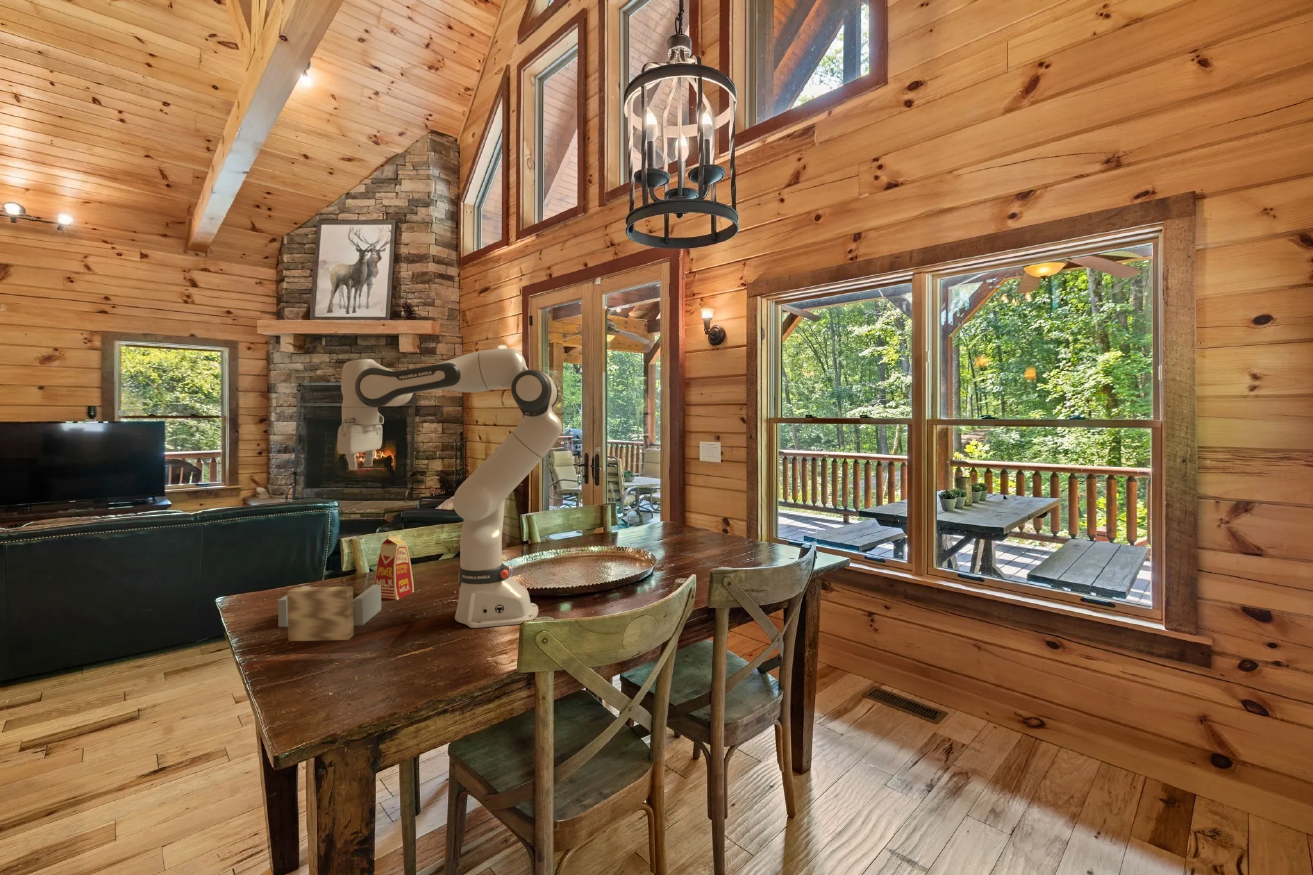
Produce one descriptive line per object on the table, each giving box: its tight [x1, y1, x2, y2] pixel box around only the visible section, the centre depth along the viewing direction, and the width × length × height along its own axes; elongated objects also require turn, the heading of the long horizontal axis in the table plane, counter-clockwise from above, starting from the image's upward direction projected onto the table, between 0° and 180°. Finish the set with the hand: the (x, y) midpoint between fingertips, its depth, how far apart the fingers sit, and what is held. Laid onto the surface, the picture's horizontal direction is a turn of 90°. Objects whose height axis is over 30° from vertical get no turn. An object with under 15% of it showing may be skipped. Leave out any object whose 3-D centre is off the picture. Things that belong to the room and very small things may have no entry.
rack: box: [277, 584, 382, 628], centre depth 155 cm, size 21×12×8 cm, turn 94°
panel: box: [286, 586, 355, 642], centre depth 142 cm, size 14×3×13 cm, turn 94°
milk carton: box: [373, 534, 415, 601], centre depth 175 cm, size 9×9×20 cm
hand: (361, 468), depth 159 cm, fingers open, 8 cm apart
